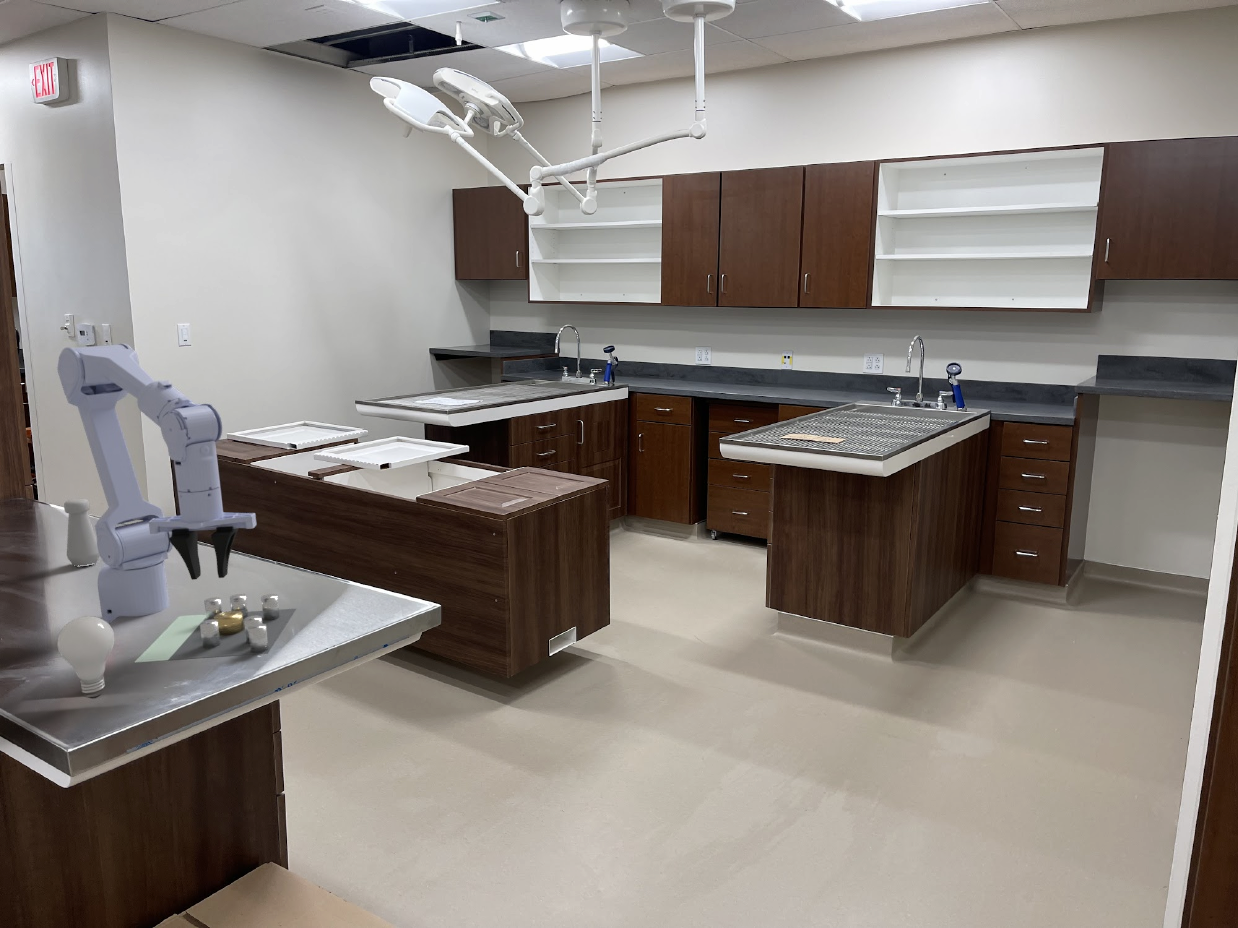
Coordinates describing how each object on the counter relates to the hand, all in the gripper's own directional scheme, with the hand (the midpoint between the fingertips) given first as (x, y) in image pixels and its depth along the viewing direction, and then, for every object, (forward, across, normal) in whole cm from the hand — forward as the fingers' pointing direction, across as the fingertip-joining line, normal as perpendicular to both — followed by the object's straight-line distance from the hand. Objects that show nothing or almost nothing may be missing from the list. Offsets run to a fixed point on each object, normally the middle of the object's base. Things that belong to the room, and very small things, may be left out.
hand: (209, 576), depth 135 cm
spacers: (+9, +4, -2) cm, 9 cm away
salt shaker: (+10, -38, +45) cm, 60 cm away
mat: (+10, +1, -1) cm, 10 cm away
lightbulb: (+10, -10, -18) cm, 23 cm away
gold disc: (+9, +2, 0) cm, 9 cm away
